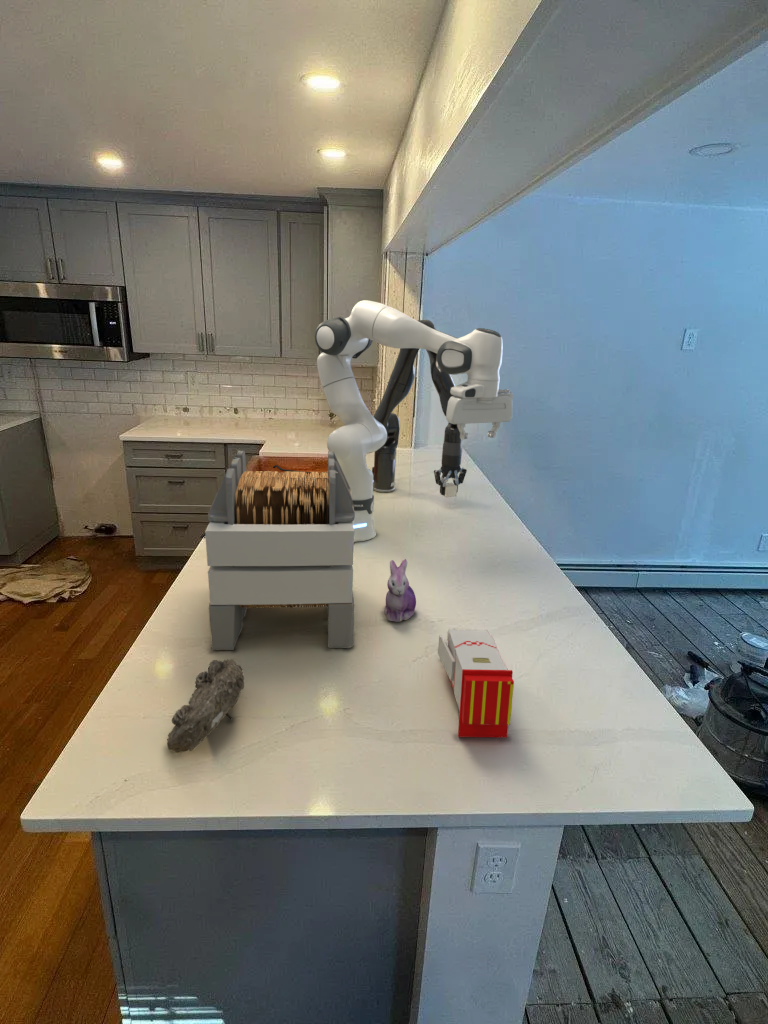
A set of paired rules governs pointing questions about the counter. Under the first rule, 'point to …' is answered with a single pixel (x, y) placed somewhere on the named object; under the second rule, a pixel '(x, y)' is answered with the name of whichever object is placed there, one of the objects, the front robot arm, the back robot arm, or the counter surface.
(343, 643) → the grey record crate stand
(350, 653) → the counter surface
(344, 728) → the counter surface
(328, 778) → the counter surface
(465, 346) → the front robot arm
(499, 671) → the toy
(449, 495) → the brick
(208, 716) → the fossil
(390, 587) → the figurine
